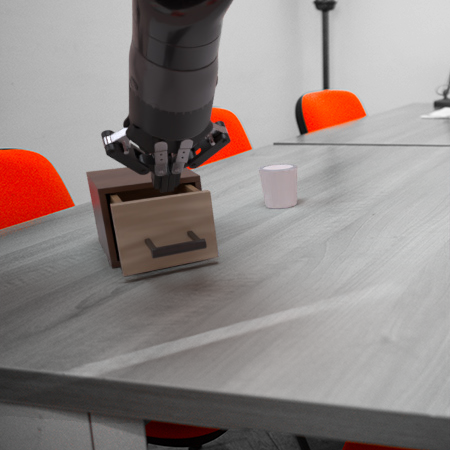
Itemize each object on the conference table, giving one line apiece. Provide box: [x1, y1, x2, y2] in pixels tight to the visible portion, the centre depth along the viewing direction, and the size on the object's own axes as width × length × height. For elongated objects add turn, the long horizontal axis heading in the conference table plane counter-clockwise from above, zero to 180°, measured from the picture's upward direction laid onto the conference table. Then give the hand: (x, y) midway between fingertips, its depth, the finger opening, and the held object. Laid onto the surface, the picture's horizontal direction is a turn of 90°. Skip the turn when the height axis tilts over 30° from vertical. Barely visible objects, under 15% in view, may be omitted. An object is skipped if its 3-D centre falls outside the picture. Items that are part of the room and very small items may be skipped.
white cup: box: [258, 163, 298, 210], centre depth 103 cm, size 7×7×7 cm
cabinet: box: [85, 166, 203, 269], centre depth 82 cm, size 15×13×11 cm
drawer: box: [105, 183, 220, 277], centre depth 73 cm, size 20×11×9 cm, turn 33°
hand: (164, 185), depth 66 cm, fingers closed
